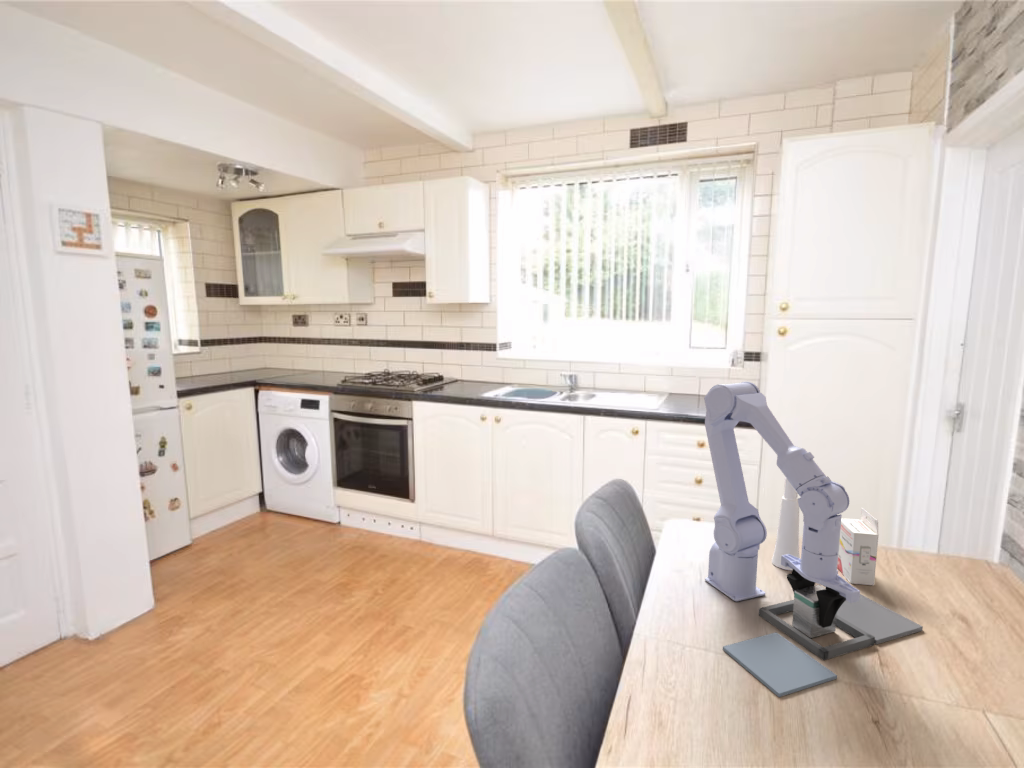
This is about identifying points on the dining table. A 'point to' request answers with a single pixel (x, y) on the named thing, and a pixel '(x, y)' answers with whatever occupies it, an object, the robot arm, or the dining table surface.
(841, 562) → the ink cartridge box
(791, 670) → the pad
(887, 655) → the dining table surface
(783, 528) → the cosmetic bottle
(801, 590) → the block
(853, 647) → the hinged gray frame
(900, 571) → the dining table surface
